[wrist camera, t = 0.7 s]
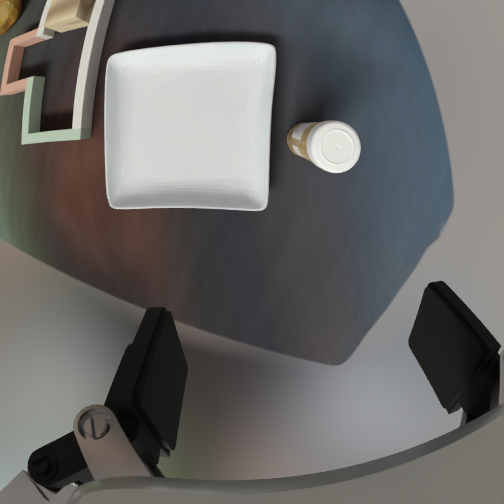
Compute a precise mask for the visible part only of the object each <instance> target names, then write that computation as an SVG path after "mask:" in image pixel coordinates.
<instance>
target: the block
mask: <svg viewBox="0 0 504 504" xmlns="http://www.w3.org/2000/svg"><path fill="white" fill-rule="evenodd" d="M95 2H96V0H52V2H51V5H50V8H49V11H48V14H47V17H46V20H45V24H44V27H46V28H49V29H52V30H55V31H58V32H61V33H62V32H65V31H69V30H73V29H76V28H80V27H85V26H89V22H90V18H91V15H92V11H93V8H94V5H95Z"/></svg>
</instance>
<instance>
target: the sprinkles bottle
mask: <svg viewBox="0 0 504 504" xmlns="http://www.w3.org/2000/svg"><path fill="white" fill-rule="evenodd" d="M287 143H288V146H289V148H290V149H291V151H292V152H293V153H295V154H296V155H299V156H301V157H304V158H306V159H308V160H310V161H312V162H313V163H314V164H315V165H317V166H318V167H320V168H322V169H323V170H326V171H328V172H332V173H340V172H344V171H347V170H349V169H350V168H351V167H353V166H354V165H355V163H356V162H357V160H358V158H359V156H360V151H361V145H360V140H359V137H358V135H357V133H356V132H355V130H354V129H353V128H352V127H350V126H349V125H347V124H346V123H343V122H340V121H324V122H314V123H299V124H296V125H294V126H293V127H292V128H291V129H290V131H289V133H288V135H287Z"/></svg>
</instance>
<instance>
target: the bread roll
mask: <svg viewBox="0 0 504 504" xmlns="http://www.w3.org/2000/svg"><path fill="white" fill-rule="evenodd" d="M21 10H22V0H0V35H2V34H4V33H5V32H7V31H8V30H9V29H10V28H11V27H12V26H13V24H14V23H15V22H16V20H17V19H18V17H19V15H20V13H21Z"/></svg>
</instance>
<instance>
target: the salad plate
mask: <svg viewBox="0 0 504 504" xmlns="http://www.w3.org/2000/svg"><path fill="white" fill-rule="evenodd" d="M275 73H276V50H275V47H274V46H273V45H271V44H267V43H260V42H209V43H194V44H182V45H170V46H161V47H152V48H144V49H137V50H130V51H125V52H120V53H117V54H114V55H112V56H111V57H110V58H109V59H108V62H107V67H106V78H105V106H104V133H105V173H106V190H107V197H108V201H109V204H110V206H111V207H112V208H115V209H142V208H211V209H229V210H249V211H259V210H264V209H265V208H266V206H267V204H268V194H269V164H270V136H271V116H272V102H273V92H274V83H275Z"/></svg>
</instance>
